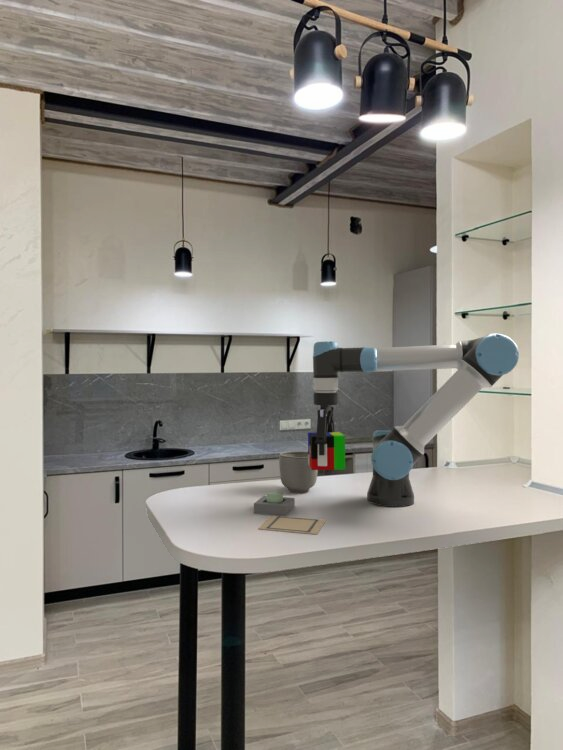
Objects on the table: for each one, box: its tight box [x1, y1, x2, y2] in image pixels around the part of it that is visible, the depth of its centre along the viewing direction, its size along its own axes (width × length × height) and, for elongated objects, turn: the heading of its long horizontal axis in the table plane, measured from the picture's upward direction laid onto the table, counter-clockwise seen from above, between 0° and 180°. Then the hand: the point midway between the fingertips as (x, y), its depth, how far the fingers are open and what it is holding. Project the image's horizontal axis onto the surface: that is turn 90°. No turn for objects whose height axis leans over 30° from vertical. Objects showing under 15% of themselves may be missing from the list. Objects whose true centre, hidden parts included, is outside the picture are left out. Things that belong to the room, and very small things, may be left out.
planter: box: [278, 450, 319, 494], centre depth 192 cm, size 14×14×13 cm
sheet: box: [257, 515, 327, 535], centre depth 151 cm, size 16×13×1 cm
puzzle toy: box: [307, 431, 346, 471], centre depth 169 cm, size 10×10×10 cm
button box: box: [253, 495, 296, 517], centre depth 166 cm, size 10×10×3 cm
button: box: [265, 491, 284, 504], centre depth 166 cm, size 5×5×4 cm
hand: (326, 462), depth 169 cm, fingers closed on puzzle toy, 12 cm apart
